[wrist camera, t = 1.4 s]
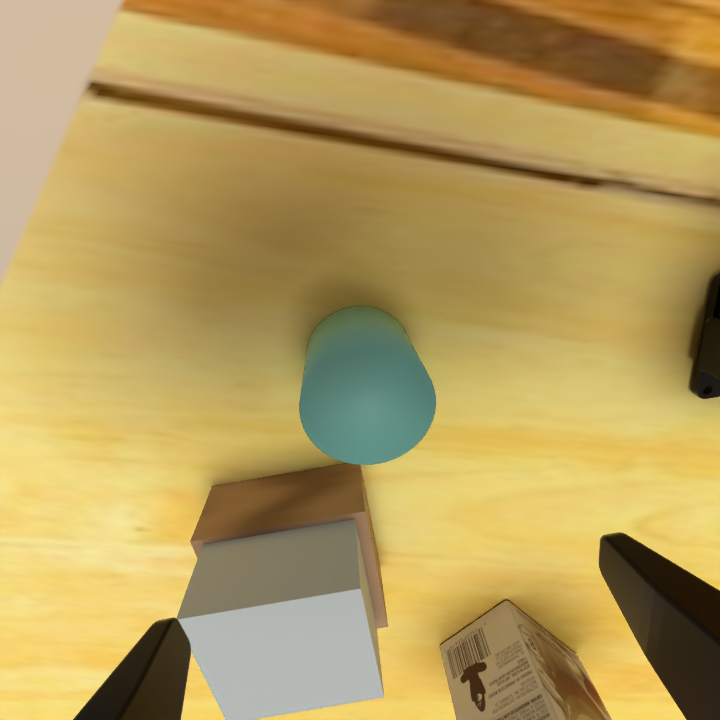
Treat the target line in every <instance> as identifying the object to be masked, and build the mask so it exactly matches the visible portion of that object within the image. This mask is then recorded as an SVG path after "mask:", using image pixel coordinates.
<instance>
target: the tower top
mask: <svg viewBox="0 0 720 720" xmlns="http://www.w3.org/2000/svg"><path fill="white" fill-rule="evenodd" d="M177 619H178V621H179V622H180V624H181V626H182V628H183V630H184V631H185V633H186V635H187V637H188V639H189V641H190V645H191V651H192V653H193V655H194V657H195V659H196V661H197V663H198V665H199V667H200V669H201V671H202V673H203V675H204V677H205V679H206V681H207V683H208V685H209V687H210V689H211V691H212V693H213V695H214V697H215V699H216V701H217V703H218V705H219V707H220V709H221V711H222V713H223V715H224V717H225V719H226V720H254V719H260V718H266V717H272V716H277V715H283V714H289V713H295V712H301V711H307V710H313V709H319V708H324V707H330V706H336V705H342V704H348V703H354V702H360V701H365V700H371V699H377V698H383V697H384V692H383V683H382V674H381V664H380V655H379V646H378V636H377V627H376V619H375V614H374V609H373V604H372V599H371V594H370V589H369V584H368V579H367V575H366V570H365V565H364V560H363V555H362V550H361V545H360V540H359V535H358V530H357V525H356V520H355V519H352V520H346V521H340V522H334V523H328V524H322V525H316V526H311V527H305V528H299V529H293V530H287V531H281V532H275V533H269V534H263V535H257V536H251V537H245V538H239V539H233V540H227V541H221V542H215V543H209V544H203V546H202V549H201V551H200V554H199V557H198V560H197V563H196V565H195V568H194V571H193V574H192V577H191V579H190V582H189V585H188V588H187V591H186V593H185V596H184V599H183V602H182V605H181V607H180V610H179V613H178V616H177Z"/></svg>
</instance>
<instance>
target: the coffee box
mask: <svg viewBox="0 0 720 720" xmlns="http://www.w3.org/2000/svg"><path fill="white" fill-rule="evenodd" d="M440 650H441V654H442V659H443V663H444V668H445V672H446V676H447V680H448V684H449V689H450V693H451V697H452V702H453V706H454V711H455V715H456V719H457V720H612V719H611V717H610V715H609V713H608V712H607V710H606V708H605V706H604V704H603V702H602V700H601V698H600V696H599V694H598V693H597V691H596V689H595V687H594V685H593V683H592V681H591V680H590V678H589V676H588V674H587V672H586V670H585V669H584V667H583V665H582V663H581V661H580V660H579V658H578V656H577V655H576V654H575V653H573V652H572V651H571V650H570V649H568V648H567V647H566V646H564V645H563V644H562V643H561V642H559V641H558V640H557V639H555V638H554V637H553V636H552V635H551V634H549V633H548V632H547V631H546V630H544V629H543V628H542V627H541V626H539V625H538V624H537V623H536V622H534V621H533V620H532V619H531V618H529V617H528V616H527V615H526V614H524V613H523V612H522V611H521V610H519V609H518V608H517V607H516V606H514V605H513V604H512V603H510V602H509V601H504V602H502V603H501V604H499V605H498V606H496V607H495V608H494V609H492V610H491V611H489V612H488V613H486V614H485V615H483V616H482V617H480V618H479V619H478V620H476V621H475V622H473V623H472V624H470V625H469V626H468V627H466V628H465V629H463V630H462V631H460V632H459V633H457V634H456V635H455V636H453V637H452V638H450V639H449V640H447V641H446V642H444V643H443V644H441V645H440Z"/></svg>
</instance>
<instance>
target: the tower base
mask: <svg viewBox="0 0 720 720" xmlns="http://www.w3.org/2000/svg"><path fill="white" fill-rule="evenodd" d="M352 519H355V520H356V525H357V530H358V535H359V540H360V545H361V550H362V555H363V560H364V565H365V570H366V575H367V579H368V584H369V589H370V594H371V599H372V604H373V609H374V614H375V619H376V627H377V628H383V627H388V623H387V615H386V608H385V600H384V593H383V585H382V578H381V570H380V564H379V559H378V554H377V548H376V543H375V538H374V533H373V528H372V523H371V517H370V512H369V507H368V502H367V497H366V492H365V486H364V481H363V476H362V471H361V466H360V465H358V464H350V463H345V464H339V465H333V466H328V467H322V468H316V469H310V470H305V471H299V472H293V473H287V474H281V475H276V476H270V477H264V478H258V479H252V480H247V481H241V482H235V483H229V484H224V485H218V486H212V489H211V491H210V494H209V496H208V499H207V501H206V504H205V506H204V509H203V511H202V514H201V516H200V519H199V521H198V524H197V526H196V529H195V531H194V534H193V536H192V539H191V541H190V542H191V544H192V547H193V549H194V551H195V553H196V556H197V558H198V557H199V554H200V551H201V549H202V546H203V544H209V543H215V542H221V541H227V540H233V539H239V538H245V537H251V536H257V535H263V534H269V533H275V532H281V531H287V530H293V529H299V528H305V527H311V526H316V525H322V524H328V523H334V522H340V521H346V520H352Z"/></svg>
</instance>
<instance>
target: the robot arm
mask: <svg viewBox="0 0 720 720" xmlns="http://www.w3.org/2000/svg"><path fill="white" fill-rule="evenodd" d="M704 388H705V389H704ZM703 389H704V390H703ZM692 393H693V394H695V395H696V396H698V397H700V398H702V399H707V398H713V397H719V396H720V274H718V275H717V276H716V277H715V278H714V279H713V281H712V283H711V288H710V293H709V298H708V304H707V309H706V314H705V320H704V325H703V330H702V336H701V341H700V347H699V352H698V357H697V363H696V368H695V373H694V379H693V384H692ZM599 568H600V571H601V573H602V576H603V578H604V580H605V581H606V583H607V585H608V587H609V589H610V591H611V593H612V595H613V596H614V598H615V600H616V602H617V604H618V606H619V608H620V610H621V611H622V613H623V615H624V617H625V619H626V621H627V623H628V625H629V627H630V628H631V630H632V632H633V634H634V636H635V638H636V640H637V642H638V643H639V645H640V647H641V649H642V651H643V652H644V654H645V656H646V657H647V659H648V661H649V662H650V664H651V665H652V667H653V669H654V670H655V672H656V673H657V675H658V676H659V678H660V679H661V681H662V683H663V684H664V686H665V687H666V689H667V690H668V692H669V693H670V695H671V696H672V698H673V699H674V701H675V703H676V704H677V706H678V707H679V709H680V710H681V712H682V713H683V715H684V716H685V718H686V719H687V720H720V591H719V590H718V589H716V588H714V587H713V586H711V585H709V584H708V583H706V582H704V581H703V580H701V579H699V578H698V577H696V576H695V575H693V574H691V573H690V572H688V571H686V570H685V569H683V568H681V567H680V566H678V565H676V564H675V563H673V562H671V561H670V560H668V559H666V558H665V557H663V556H661V555H660V554H658V553H656V552H655V551H653V550H651V549H650V548H648V547H646V546H645V545H643V544H641V543H640V542H638V541H636V540H635V539H633V538H631V537H630V536H628V535H626V534H624V533H620V532H619V533H612V534H607V535H603V536H602V537H601V539H600V550H599ZM190 655H191V645H190V641H189V639H188V637H187V635H186V633H185V631H184V630H183V628H182V626H181V624H180V622H179V621H178V619H176V618H168V619H163V620H159V621H156V622H155V623H154V624H153V625H152V626H151V627H150V628H149V629H148V630H147V632H146V633H145V634H144V635H143V636H142V638H141V639H140V640H139V641H138V642H137V644H136V645H135V646H134V647H133V648H132V650H131V651H130V652H129V653H128V654H127V655H126V657H125V658H124V659H123V660H122V661H121V663H120V664H119V665H118V666H117V667H116V669H115V670H114V671H113V672H112V673H111V675H110V676H109V677H108V678H107V679H106V681H105V682H104V683H103V684H102V685H101V687H100V688H99V689H98V690H97V691H96V693H95V694H94V695H93V696H92V697H91V699H90V700H89V701H88V702H87V703H86V705H85V706H84V707H83V708H82V709H81V711H80V712H79V713H78V714H77V715H76V717H75V718H74V719H73V720H181V715H182V708H183V701H184V695H185V688H186V682H187V675H188V669H189V662H190Z"/></svg>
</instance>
